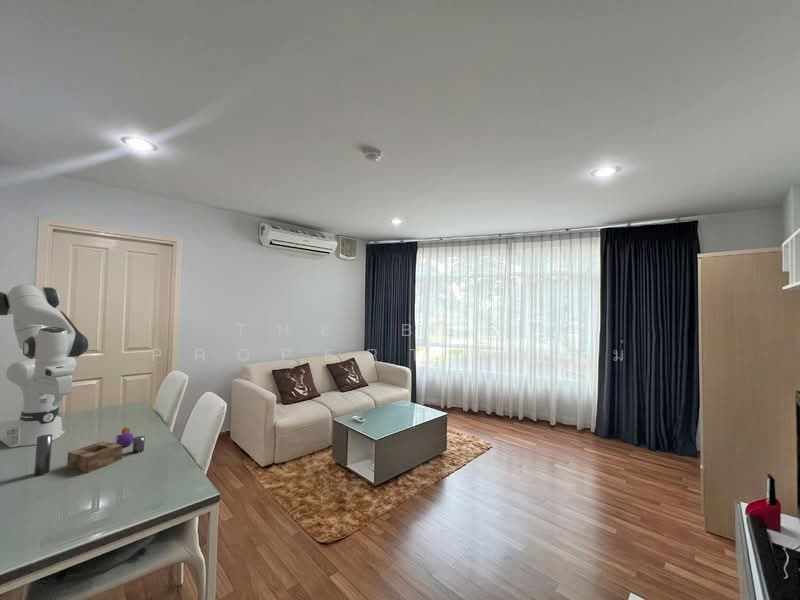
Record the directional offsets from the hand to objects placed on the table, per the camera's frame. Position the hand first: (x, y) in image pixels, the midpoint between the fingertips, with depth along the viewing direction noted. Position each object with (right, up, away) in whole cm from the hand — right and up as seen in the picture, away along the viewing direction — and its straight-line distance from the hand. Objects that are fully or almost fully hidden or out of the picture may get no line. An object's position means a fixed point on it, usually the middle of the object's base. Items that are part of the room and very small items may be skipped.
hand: (49, 404), depth 126 cm
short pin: (+19, -27, +19) cm, 38 cm away
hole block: (+11, -27, +7) cm, 30 cm away
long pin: (-1, -26, -2) cm, 26 cm away
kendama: (+4, -27, +30) cm, 41 cm away
